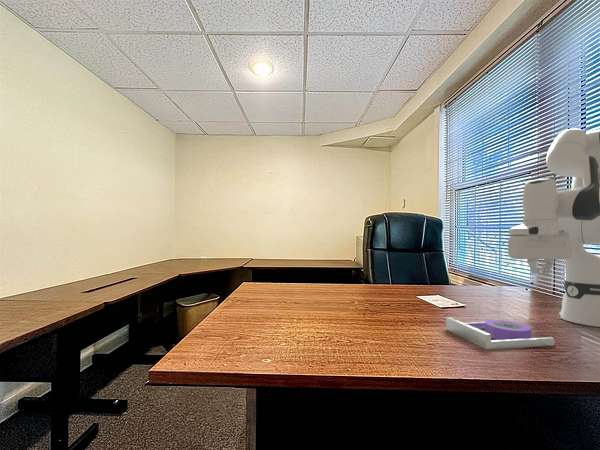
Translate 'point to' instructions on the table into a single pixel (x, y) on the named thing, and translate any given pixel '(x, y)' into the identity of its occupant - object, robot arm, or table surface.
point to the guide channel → (484, 339)
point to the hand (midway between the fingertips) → (540, 273)
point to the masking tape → (507, 330)
